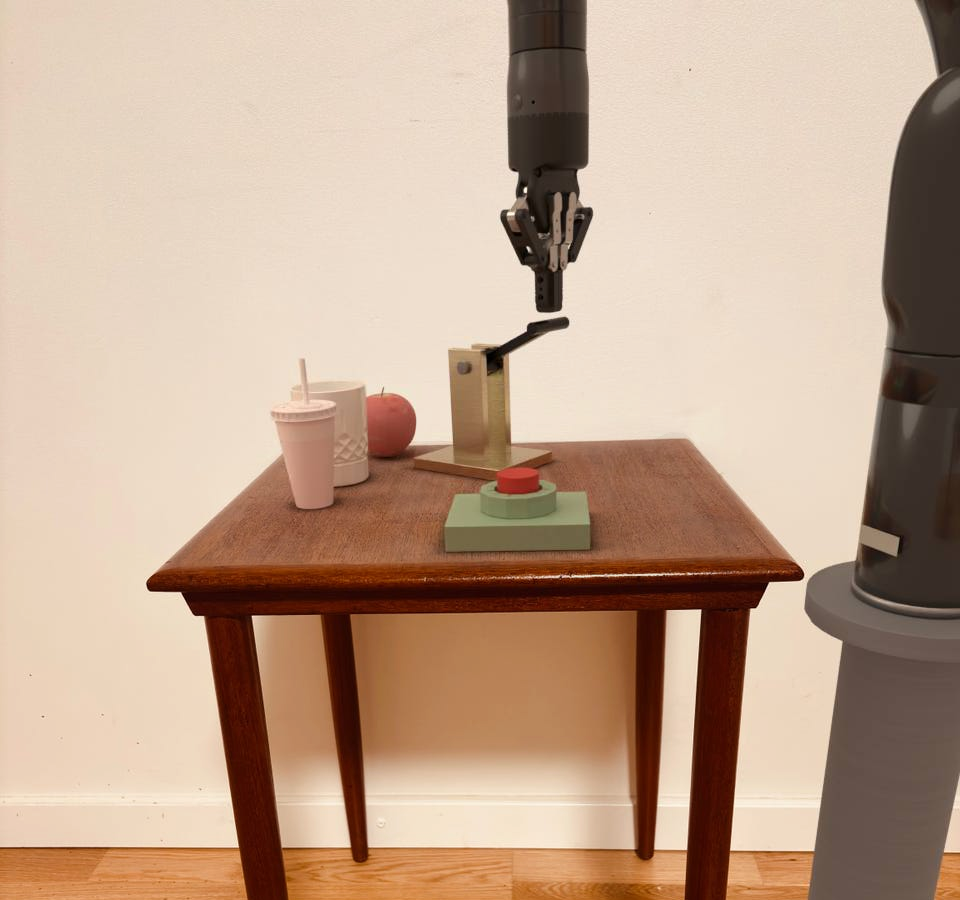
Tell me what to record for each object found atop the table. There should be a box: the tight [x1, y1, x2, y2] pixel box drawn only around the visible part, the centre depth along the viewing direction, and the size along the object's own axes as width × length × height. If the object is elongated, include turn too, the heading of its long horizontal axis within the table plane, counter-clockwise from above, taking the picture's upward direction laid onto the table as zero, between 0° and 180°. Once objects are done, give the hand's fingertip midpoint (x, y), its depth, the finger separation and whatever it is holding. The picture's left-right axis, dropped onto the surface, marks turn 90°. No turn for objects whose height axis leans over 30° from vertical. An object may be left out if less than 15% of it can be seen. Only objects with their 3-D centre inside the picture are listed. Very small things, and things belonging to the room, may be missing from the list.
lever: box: [483, 316, 571, 374], centre depth 96 cm, size 12×6×2 cm, turn 53°
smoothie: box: [269, 357, 338, 510], centre depth 89 cm, size 6×6×14 cm
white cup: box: [289, 379, 370, 488], centre depth 98 cm, size 8×8×10 cm
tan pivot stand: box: [412, 342, 553, 482], centre depth 101 cm, size 12×10×13 cm
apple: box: [366, 386, 417, 458], centre depth 108 cm, size 7×7×8 cm
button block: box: [443, 479, 591, 553], centre depth 80 cm, size 12×10×4 cm
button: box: [497, 468, 540, 495], centre depth 79 cm, size 4×4×2 cm
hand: (549, 311), depth 92 cm, fingers closed
